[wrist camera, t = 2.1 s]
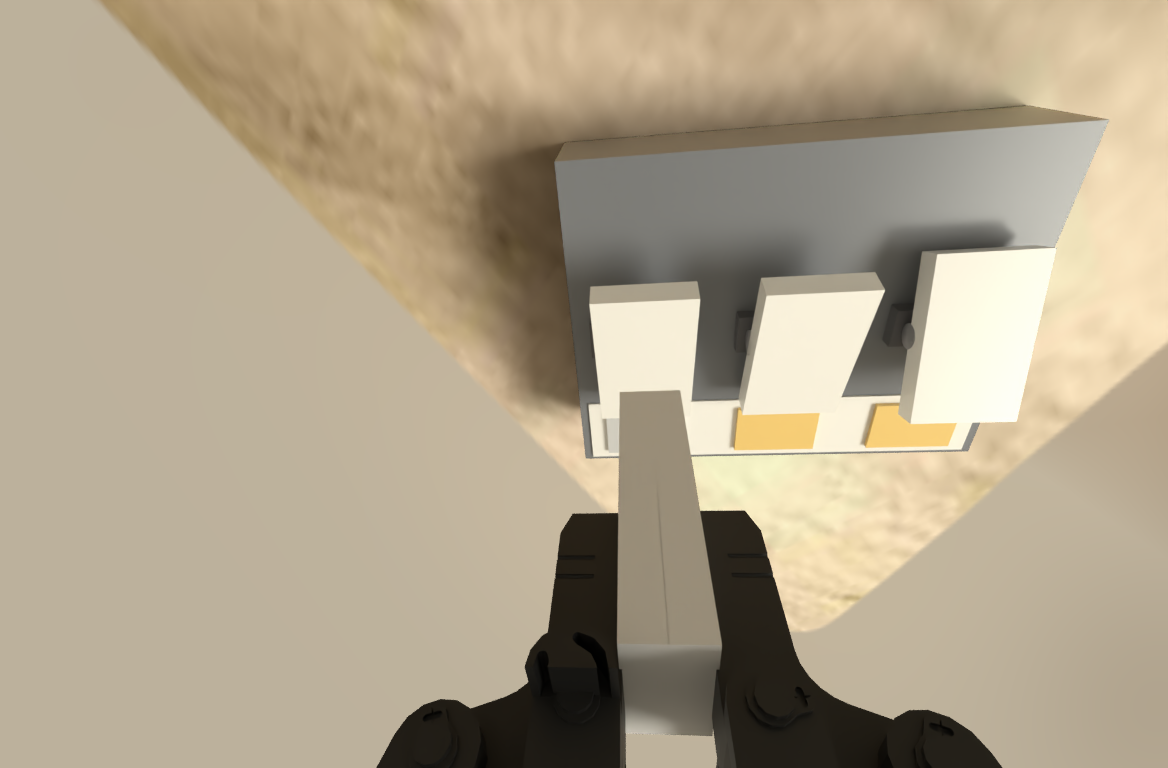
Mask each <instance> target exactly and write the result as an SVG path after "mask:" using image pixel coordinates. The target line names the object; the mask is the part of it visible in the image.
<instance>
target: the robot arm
mask: <svg viewBox="0 0 1168 768" xmlns="http://www.w3.org/2000/svg"><path fill="white" fill-rule="evenodd" d="M555 575H556V578H555V582H554V589H553V597H552V604H551V613H550V621H549V628H548V633H546V634H544V635H543V636H542V637H541V638H540V639H539V640H538V641H537V643H536V644H535V645H534V646H533V647H532V649H531V650H530V653H529V656H528V658H527V661H526V664H525V670H526V674H527V677H528V683H527V684H526V685H524V686H523V687H522V688H521V689H519V690H518V691H517V692H514V693H512V694H510V695H508V696H506V697H504V698H501V699H498V700H495V701H492V702H489V703H486V704H483V705H480V706H477V707H474V708H471V709H470V708H469V707H467V706H465V705H464V704H462V703H461V702H459V701H457V700H445V699H440V700H437V701H434V702H431V703H428V704H425V705H423V706H421V707H420V708H419V709H417V710H416V711H415V712H413V713H412V714H411V715H409V716H408V717H407V719H406V720H405V721H404V722H403V724H402V725H401V726H400V728H399V729H398V730H397V732H396V733H395V735H394V737H393V738H392V740H391V742H390V744H389V746H388V748H387V749H386V751H385V753H384V755H383V757H382V758H381V760H380V762H379V764H378V766H377V768H626V749H625V748H626V738H625V737H626V733H633V734H634V733H635V734H665V735H669V734H670V735H700V736H712V734H713V730H714V738H715V745H716V753H717V766H716V768H1002V767H1001V765H1000V764H999V763H998V761H997V760H996V758H995V757H994V756H993V754H992V753H991V752H990V751H989V750H988V749H987V748H986V747H985V745H983V743H982V742H981V741H980V740H979V739H978V738H977V737H976V736H975V735H974V734H973V733H972V732H971V731H970V730H968V729H967V728H965V727H964V726H962V725H960V724H959V723H957V722H956V721H954V720H953V719H951V718H950V717H947V716H944V715H941V714H938V713H935V712H932V711H929V710H909V711H907V712H905V713H903V714H901V715H900V716H898V717H896V718H894V720H892V719H889V718H887V717H884V716H881V715H878V714H875V713H872V712H869V711H867V710H864V709H861V708H858V707H855V706H852V705H850V704H847V703H845V702H843V701H841V700H839V699H837V698H834V697H833V696H831V695H830V694H828V693H827V692H826V691H824V690H823V689H821V688H820V687H819V686H818V685H817V684H816V683H815V682H814V681H813V680H812V679H811V678H810V677H809V676H808V674H807V673H806V672H805V670H804V668H803V667H802V666H801V664H800V662H799V660H798V657H797V655H796V652H795V650H794V646H793V643H792V639H791V635H790V632H789V628H788V625H787V621H786V618H785V614H784V611H783V607H782V604H781V600H780V597H779V593H778V590H777V586H776V582H775V579H774V578H773V572H772V568H771V565H770V561H769V558H768V557H767V551H766V547H765V544H764V540H763V537H762V533H761V530H760V529H759V528H758V526H757V525H756V524H755V523H754V521H753V520H752V519H751V518H750V517H749V515H748V514H747V513H746V512H745V511H700V508H699V502H698V496H697V490H696V483H695V477H694V471H693V465H692V459H691V453H690V447H689V441H688V435H687V429H686V423H685V417H684V411H683V404H682V398H681V392H680V390H666V391H636V392H620V406H619V502H618V513H598V514H597V513H596V514H572V516H571V518H570V519H569V521H568V522H567V524H566V525H565V527H564V529H563V530H562V532H561V535H560V543H559V551H558V560H557V566H556V574H555Z"/></svg>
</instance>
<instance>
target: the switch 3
mask: <svg viewBox="0 0 1168 768" xmlns="http://www.w3.org/2000/svg"><path fill="white" fill-rule="evenodd" d="M1056 249H1057V248H1055V247H1046V246H1038V245H1029V246H1010V247H992V248H974V249H955V250H937V251H922V255H921V262H920V269H919V275H918V282H917V289H916V296H915V302H914V309H913V316H912V322H911V323H907V324H905V326H904V327H903V330H902V335H901V338H902V344H903V346H904V347H905V348H906V349H907V356H906V363H905V370H904V376H903V383H902V390H901V396H900V403H899V410H898V414H899V415H900V416H901V417H902V418H904V419H905V420H906V421H907V422H908V423H910V424H935V423H977V422H1016V421H1017V417H1018V413H1019V409H1020V404H1021V400H1022V396H1023V391H1024V387H1025V383H1026V378H1027V374H1028V370H1029V366H1030V361H1031V357H1032V353H1033V348H1034V344H1035V340H1036V335H1037V331H1038V327H1039V322H1040V318H1041V314H1042V310H1043V305H1044V301H1045V297H1046V292H1047V288H1048V284H1049V279H1050V275H1051V271H1052V267H1053V262H1054V258H1055V254H1056Z"/></svg>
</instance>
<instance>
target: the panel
mask: <svg viewBox="0 0 1168 768" xmlns="http://www.w3.org/2000/svg"><path fill="white" fill-rule="evenodd" d="M1108 121H1109V120H1108V119H1102V118H1097V117H1091V116H1085V115H1080V114H1074V113H1068V112H1063V111H1057V110H1051V109H1045V108H1040V107H1034V106H1018V107H1005V108H992V109H980V110H967V111H954V112H942V113H929V114H917V115H904V116H891V117H879V118H866V119H853V120H841V121H828V122H816V123H803V124H790V125H778V126H765V127H752V128H740V129H727V130H715V131H702V132H689V133H677V134H664V135H651V136H639V137H626V138H614V139H601V140H588V141H576V142H565V143H564V145H563V147H562V149H561V150H560V152H559V154H558V156H557V158H556V160H555V161H554V164H555V173H556V182H557V192H558V201H559V211H560V220H561V229H562V239H563V248H564V258H565V267H566V276H567V286H568V295H569V305H570V314H571V323H572V333H573V342H574V352H575V361H576V370H577V380H578V389H579V399H580V408H581V417H582V427H583V436H584V446H585V455H586V458H619V418H610V419H602V413H601V404H600V395H599V386H598V377H597V368H596V359H595V350H594V341H593V332H592V323H591V314H590V305H589V302H590V287H593V286H613V285H632V284H652V283H671V282H690V281H697V283H698V289H699V294H700V308H699V319H698V331H697V342H696V354H695V365H694V377H693V388H692V400H691V411H690V416H685V423H686V429H687V435H688V441H689V447H690V453H691V456H741V455H794V454H847V453H900V452H953V451H968V450H969V448H970V445H971V443H972V441H973V438H974V436H975V434H976V431H977V429H978V426H979V424H980V422H977V423H935V424H910V423H908V422H907V421H906V420H905V419H904V418H902V417H901V416H900V415H899V414H898V410H899V403H900V396H901V390H902V383H903V376H904V370H905V363H906V356H907V349H906V348H905V347H904V346H903V344H902V338H901V335H902V330H903V327H904V326H905V324H907V323H911V322H912V316H913V309H914V302H915V296H916V289H917V282H918V275H919V269H920V262H921V255H922V251H937V250H955V249H974V248H992V247H1010V246H1029V245H1038V246H1046V247H1055V246H1056V243H1057V241H1058V239H1059V236H1060V234H1061V232H1062V229H1063V227H1064V225H1065V222H1066V220H1067V218H1068V215H1069V213H1070V211H1071V208H1072V206H1073V204H1074V201H1075V199H1076V197H1077V194H1078V192H1079V190H1080V187H1081V185H1082V182H1083V180H1084V178H1085V175H1086V173H1087V171H1088V168H1089V166H1090V164H1091V161H1092V159H1093V157H1094V154H1095V152H1096V150H1097V147H1098V145H1099V143H1100V140H1101V138H1102V136H1103V133H1104V131H1105V129H1106V126H1107V124H1108ZM865 272H875V273H876V274H877V276H878V278H879V280H880V282H881V283H882V285H883V287H884V289H885V292H884V294H883V297H882V299H881V302H880V304H879V306H878V309H877V311H876V314H875V316H874V319H873V321H872V324H871V326H870V328H869V331H868V333H867V336H866V338H865V341H864V343H863V345H862V348H861V350H860V353H859V355H858V358H857V360H856V363H855V365H854V367H853V370H852V372H851V375H850V377H849V380H848V382H847V384H846V387H845V389H844V392H843V394H842V397H841V399H840V402H839V404H838V406H837V409H836V411H835V413H799V414H761V415H742V411H741V406H740V402H739V393H740V387H741V382H742V377H743V371H744V366H745V361H746V355H747V352H746V343H745V340H746V332H747V330H751V329H752V324H753V318H754V313H755V308H756V302H757V297H758V292H759V287H760V281H761V278H768V277H788V276H807V275H827V274H846V273H865Z"/></svg>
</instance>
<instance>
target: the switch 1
mask: <svg viewBox="0 0 1168 768" xmlns="http://www.w3.org/2000/svg"><path fill="white" fill-rule="evenodd" d="M589 305H590V314H591V323H592V332H593V341H594V350H595V359H596V368H597V377H598V386H599V395H600V404H601V413H602V419H610V418H619V406H620V392H636V391H666V390H680V392H681V398H682V404H683V411H684V417H685V416H690V411H691V400H692V388H693V377H694V365H695V354H696V342H697V331H698V319H699V308H700V294H699V289H698V283H697V281H690V282H671V283H652V284H632V285H613V286H593V287H590V302H589Z"/></svg>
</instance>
